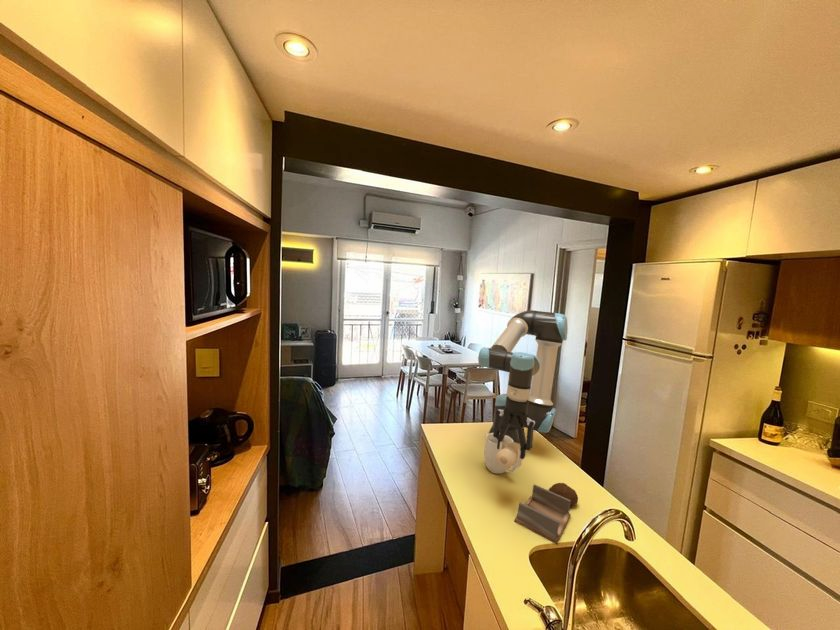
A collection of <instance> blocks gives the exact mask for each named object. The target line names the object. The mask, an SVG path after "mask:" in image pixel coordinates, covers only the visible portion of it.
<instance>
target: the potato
mask: <svg viewBox="0 0 840 630" xmlns="http://www.w3.org/2000/svg"><path fill="white" fill-rule="evenodd" d="M548 490H549V491H551V492H553V493H555V494H558V495H560V496H562V497H565V498H567V499H569V500H571V501H570V507H572V506H575V505H576V504H577V503H578V501H579V497H578V494H577V492H576V490H575V489H573V488H572V487H570V486H568V484H567V483H565V482H558V483H554V484H552V486H551V487H549V488H548Z"/></svg>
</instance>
